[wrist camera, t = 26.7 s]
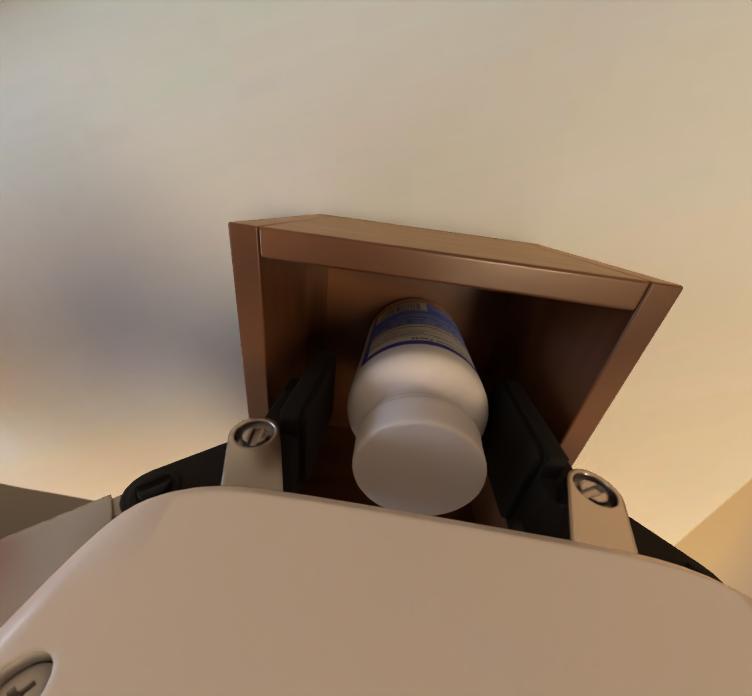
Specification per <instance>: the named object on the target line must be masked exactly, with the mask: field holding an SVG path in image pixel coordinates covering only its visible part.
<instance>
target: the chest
mask: <svg viewBox="0 0 752 696" xmlns="http://www.w3.org/2000/svg"><path fill="white" fill-rule="evenodd" d="M228 226H229V236H230V245H231V254H232V264H233V273H234V282H235V292H236V301H237V310H238V319H239V329H240V338H241V347H242V357H243V366H244V375H245V385H246V394H247V403H248V412H249V418H253V417H265V416H266V415H267V413H268V412H269V410H270V409H271V407H272V406H273V405H274V403H275V402H276V400H277V399H278V397H279V396H280V394H281V393H282V391H283V390H284V388H285V387H286V385H287V384H288V382H289V381H290V379H291V378H293V377H294V378H301V377H302V375H303V373H304V372H305V370H306V369H307V367H308V365H309V364H310V362H311V361H312V359H313V357H314V356H315V354H316V352H317V351H318V350H322V351H328V352H332V356H336V372H335V386H334V400H333V411H332V415H331V418H330V421H329V424H328V427H327V430H326V432H325V435H324V438H323V441H322V444H321V446H320V449H319V452H318V455H317V457H316V460H315V463H314V466H313V469H312V471H311V474H310V477H309V480H308V482H307V484H301V487H300V489H299V492H298V493H296V494H302V495H309V496H316V497H322V498H328V499H334V500H340V501H346V502H352V503H358V504H364V505H370V506H376V507H382V506H380V505H378V504H376V503H375V502H374V501H372V500H371V499H369V498H368V497H367V496H366V495H365V494H364V493H363V491H362V490H361V489H360V487H359V486H358V485H357V482H356V480H355V477H354V474H353V469H352V459H353V453H354V447H355V440H356V436H355V435H354V433H353V431H352V429H351V426H350V423H349V419H348V414H347V402H348V396H349V392H350V389H351V386H352V383H353V380H354V377H355V374H356V371H357V368H358V365H359V362H360V359H361V356H362V353H363V350H364V346H365V343H366V339H367V336H368V333H369V330H370V327H371V325H372V323H373V321H374V320H375V318H376V317H377V316H378V315H379V314H380V313H381V312H382V311H383V310H384V309H385V308H386V307H388V306H389V305H391V304H393V303H395V302H398V301H401V300H405V299H413V298H415V299H424V300H428V301H431V302H433V303H435V304H437V305H439V306H440V307H442V308H443V309H444V310H446V311H447V312H448V313H449V314H450V316H451V317H452V318H453V320H454V321H455V323H456V325H457V327H458V329H459V331H460V334H461V336H462V339H463V341H464V343H465V346H466V348H467V350H468V353H469V355H470V357H471V360H472V362H473V364H474V366H475V369H476V371H477V373H478V375H479V378H480V380H481V382H482V384H483V387H484V390H485V392H486V395H487V400H488V402H489V400H490V397H491V395H492V392H493V389H494V387H495V384H496V383H497V382H501V380H502V379H507V380H513V381H518V382H519V383H520V384H521V386H522V387H523V389H524V390H525V392H526V394H527V395H528V397H529V398H530V400H531V401H532V403H533V404H534V406H535V407H536V409H537V410H538V412H539V414H540V415H541V417H542V418H543V420H544V421H545V423H546V424H547V426H548V427H549V429H550V431H551V432H552V434H553V435H554V437H555V438H556V440H557V441H558V443H559V444H560V446H561V447H562V449H563V451H564V452H565V454H566V455H567V457H568V458H569V461H568V463H569V464H570V466H571V467H572V465H573V463H574V462H575V460H576V459H577V457H578V455H579V454H580V452H581V451H582V449H583V447H584V446H585V444H586V443H587V441H588V439H589V438H590V436H591V435H592V433H593V432H594V430H595V428H596V427H597V425H598V424H599V422H600V420H601V419H602V417H603V416H604V414H605V412H606V411H607V409H608V408H609V406H610V404H611V403H612V401H613V400H614V398H615V396H616V395H617V393H618V392H619V390H620V388H621V387H622V385H623V384H624V382H625V380H626V379H627V377H628V376H629V374H630V372H631V371H632V369H633V368H634V366H635V364H636V363H637V361H638V360H639V358H640V356H641V355H642V353H643V352H644V350H645V348H646V347H647V345H648V344H649V342H650V341H651V339H652V337H653V336H654V334H655V333H656V331H657V329H658V328H659V326H660V325H661V323H662V321H663V320H664V318H665V317H666V315H667V313H668V312H669V310H670V309H671V307H672V305H673V304H674V302H675V301H676V299H677V297H678V296H679V294H680V293H681V291H682V289H683V287H682V286H681V285H678V284H674V283H671V282H667V281H664V280H660V279H657V278H653V277H650V276H646V275H643V274H639V273H636V272H632V271H629V270H625V269H622V268H618V267H615V266H611V265H608V264H604V263H601V262H597V261H594V260H590V259H587V258H583V257H580V256H576V255H573V254H569V253H566V252H562V251H559V250H555V249H552V248H548V247H545V246H542V245H538V244H532V243H525V242H518V241H510V240H503V239H496V238H489V237H482V236H474V235H467V234H460V233H453V232H446V231H438V230H431V229H424V228H417V227H409V226H402V225H395V224H388V223H381V222H373V221H366V220H359V219H352V218H344V217H337V216H330V215H323V214H317V215H305V216H293V217H282V218H271V219H259V220H248V221H236V222H229V223H228ZM291 493H293V492H291ZM382 508H384V507H382ZM435 517H441V518H447V519H452V520H458V521H464V522H470V523H475V524H481V525H487V526H493V527H498V528H504V529H508V526H507V523H506V520H505V518H502V517H501V515H500V513H499V510H498V506H497V503H496V500H495V497H494V493H493V490H492V487H491V484H490V480H489V477H488V474H487V476H486V480H485V483H484V486H483V488H482V489H481V491H480V493H479V494H478V495H477V496H476V497H475V498H474V499H473V500H472V501H471V502H469V503H468V504H466V505H465V506H463V507H461V508H459V509H457V510H454V511H452V512H448V513H445V514H440V515H435Z"/></svg>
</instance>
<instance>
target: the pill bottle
mask: <svg viewBox="0 0 752 696" xmlns="http://www.w3.org/2000/svg"><path fill="white" fill-rule="evenodd" d="M347 414H348V419H349V423H350V426H351V429H352V431H353V433H354V435H355V436H356V440H355V447H354V453H353V459H352V469H353V474H354V477H355V480H356V482H357V485H358V486H359V487H360V489H361V490H362V491H363V493H364V494H365V495H366V496H367V497H368V498H369V499H371V500H372V501H374V502H375V503H376V504H378V505H380V506H382V507H384V508H388V509H394V510H400V511H406V512H411V513H417V514H423V515H429V516H435V515H440V514H445V513H448V512H452V511H454V510H457V509H459V508H461V507H463V506H465V505H466V504H468V503H469V502H471V501H472V500H473V499H474V498H475V497H476V496H477V495H478V494H479V493H480V491H481V489H482V488H483V486H484V483H485V480H486V476H487V463H486V459H485V455H484V451H483V447H482V440H481V437H482V435H483V433H484V431H485V428H486V425H487V421H488V414H489V410H488V400H487V395H486V392H485V390H484V387H483V384H482V382H481V380H480V378H479V375H478V373H477V371H476V369H475V366H474V364H473V362H472V360H471V357H470V355H469V353H468V350H467V348H466V346H465V343H464V341H463V339H462V336H461V334H460V331H459V329H458V327H457V325H456V323H455V321H454V320H453V318H452V317H451V316H450V314H449V313H448V312H447V311H446V310H444V309H443V308H442V307H440V306H439V305H437V304H435V303H433V302H431V301H428V300H424V299H415V298H413V299H405V300H401V301H398V302H395V303H393V304H391V305H389V306H388V307H386V308H385V309H384V310H383V311H382V312H381V313H380V314H379V315H378V316H377V317H376V318H375V320H374V321H373V323H372V325H371V327H370V330H369V333H368V336H367V339H366V343H365V346H364V350H363V353H362V356H361V359H360V362H359V365H358V368H357V371H356V374H355V377H354V380H353V383H352V386H351V389H350V392H349V396H348V402H347Z"/></svg>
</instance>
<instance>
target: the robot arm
mask: <svg viewBox="0 0 752 696" xmlns="http://www.w3.org/2000/svg"><path fill="white" fill-rule="evenodd" d="M335 372H336V356H332V352H328V351H322V350H318V351H317V352H316V354H315V356H314V357H313V359H312V361H311V362H310V364H309V365H308V367H307V369H306V370H305V372H304V373H303V375H302V377H301V378H294V377H293V378H291V379H290V381H289V382H288V384H287V385H286V387H285V388H284V390H283V391H282V393H281V394H280V396H279V397H278V399H277V400H276V402H275V403H274V405H273V406H272V407H271V409H270V410H269V412H268V413H267V415H266V416H265V417H253V418H248V419H246V420H243V421H241V422H240V423H238V424H237V425H235V426H234V427H233V428H232V430H231V431H230V433H229V436H228V442H227V443H224V444H221V445H219V446H216V447H213V448H211V449H208V450H205V451H203V452H200V453H197V454H195V455H192V456H189V457H187V458H184V459H181V460H179V461H176V462H173V463H171V464H168V465H166V466H163V467H160V468H158V469H155V470H152V471H150V472H148V473H146V474H144V475H142V476H140V477H139V478H138V479H136V480H135V481H133V482H132V483H131V484H130V485H129V486H128V487H127V488H126V489H125V491H124V492H123V494H122V495H120V496H118V497H115V498H113V499H112V496H111V494H110V495H108V496H106V497H103V498H101V499H98V500H96V501H93V502H91V503H89V504H86V505H83V506H81V507H79V508H76V509H74V510H71V511H69V512H66V513H64V514H61V515H59V516H57V517H54V518H51V519H49V520H46V521H44V522H42V523H39V524H37V525H34V526H32V527H29V528H27V529H24V530H22V531H19V532H17V533H14V534H12V535H10V536H7V537H5V538H3V539H1V540H0V696H752V598H750V597H749V596H747V595H745V594H743V593H741V592H740V591H738V590H736V589H733V588H731V587H729V586H727V585H725V584H724V583H723V582H722V581H720V580H719V579H718V578H717V577H716V576H715V575H714V574H713V573H712V572H710V571H709V570H708V569H706V568H705V567H704V566H702V565H701V564H699V563H698V562H696V561H695V560H693V559H692V558H690V557H689V556H687V555H686V554H684V553H683V552H681V551H680V550H678V549H677V548H675V547H674V546H672V545H671V544H669V543H668V542H666V541H665V540H663V539H662V538H660V537H659V536H657V535H656V534H654V533H653V532H651V531H650V530H648V529H647V528H645V527H644V526H642V525H641V524H639V523H638V522H636V521H635V520H633V519H632V518H630V517H629V516H628V514H627V510H626V506H625V503H624V500H623V498H622V496H621V495H620V493H619V492H618V491H617V490H616V489H615V488H614V487H613V486H612V485H611V484H610V483H609V482H607V481H606V480H605V479H603V478H602V477H600V476H598V475H596V474H594V473H592V472H590V471H587V470H583V469H572V467H571V466H570V464H569V463H568V461H569V458H568V457H567V455H566V454H565V452H564V451H563V449H562V447H561V446H560V444H559V443H558V441H557V440H556V438H555V437H554V435H553V434H552V432H551V431H550V429H549V427H548V426H547V424H546V423H545V421H544V420H543V418H542V417H541V415H540V414H539V412H538V410H537V409H536V407H535V406H534V404H533V403H532V401H531V400H530V398H529V397H528V395H527V394H526V392H525V390H524V389H523V387H522V386H521V384H520V383H519V382H518V381H513V380H507V379H502V380H501V382H497V383H496V384H495V387H494V389H493V392H492V395H491V397H490V400H489V402H488V410H489V414H488V421H487V425H486V428H485V431H484V433H483V435H482V437H481V440H482V447H483V451H484V455H485V459H486V463H487V474H488V477H489V480H490V484H491V487H492V490H493V493H494V497H495V500H496V503H497V506H498V510H499V513H500V515H501V517H502V518H505V520H506V523H507V526H508V529H504V528H498V527H493V526H487V525H481V524H475V523H470V522H464V521H458V520H452V519H447V518H441V517H435V516H429V515H423V514H417V513H411V512H406V511H400V510H394V509H388V508H382V507H376V506H370V505H364V504H358V503H352V502H346V501H340V500H334V499H328V498H322V497H316V496H309V495H302V494H296V493H298V492H299V489H300V487H301V484H307V482H308V480H309V477H310V474H311V471H312V469H313V466H314V463H315V460H316V457H317V455H318V452H319V449H320V446H321V444H322V441H323V438H324V435H325V432H326V430H327V427H328V424H329V421H330V418H331V415H332V411H333V400H334V386H335ZM291 492H293V493H291Z"/></svg>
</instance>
